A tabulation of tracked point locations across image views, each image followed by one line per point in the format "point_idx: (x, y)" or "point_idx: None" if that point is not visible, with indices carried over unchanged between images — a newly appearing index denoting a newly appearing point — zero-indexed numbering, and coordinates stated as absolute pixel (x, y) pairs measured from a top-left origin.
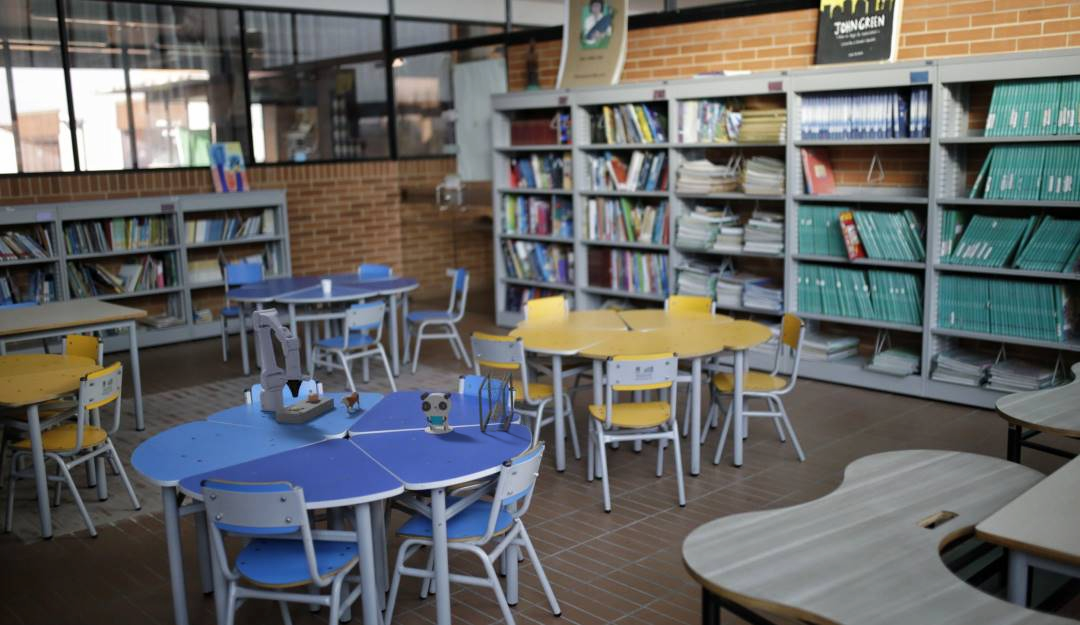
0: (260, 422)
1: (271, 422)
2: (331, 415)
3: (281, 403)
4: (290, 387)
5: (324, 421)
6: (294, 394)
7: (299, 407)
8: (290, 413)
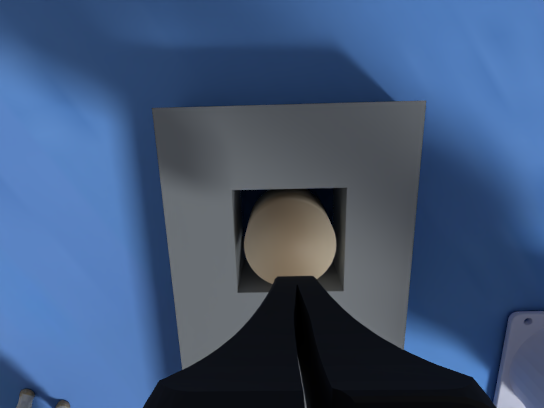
0: (517, 55)
1: (426, 79)
2: (108, 327)
3: (536, 390)
4: (342, 341)
5: (54, 204)
6: (279, 289)
7: (280, 275)
8: (262, 114)
